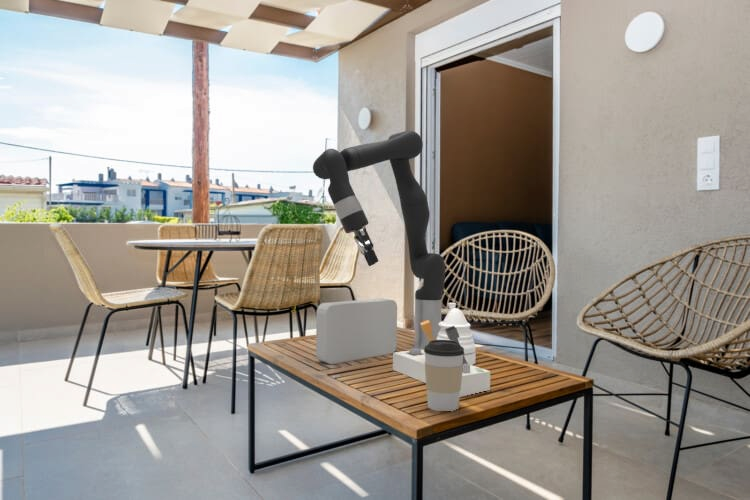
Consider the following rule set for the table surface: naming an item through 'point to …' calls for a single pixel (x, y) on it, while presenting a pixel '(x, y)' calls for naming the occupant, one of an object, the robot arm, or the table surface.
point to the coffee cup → (443, 374)
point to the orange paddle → (427, 329)
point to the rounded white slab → (355, 330)
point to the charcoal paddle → (454, 337)
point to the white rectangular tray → (415, 368)
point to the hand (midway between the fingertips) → (373, 264)
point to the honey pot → (459, 332)
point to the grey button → (414, 351)
